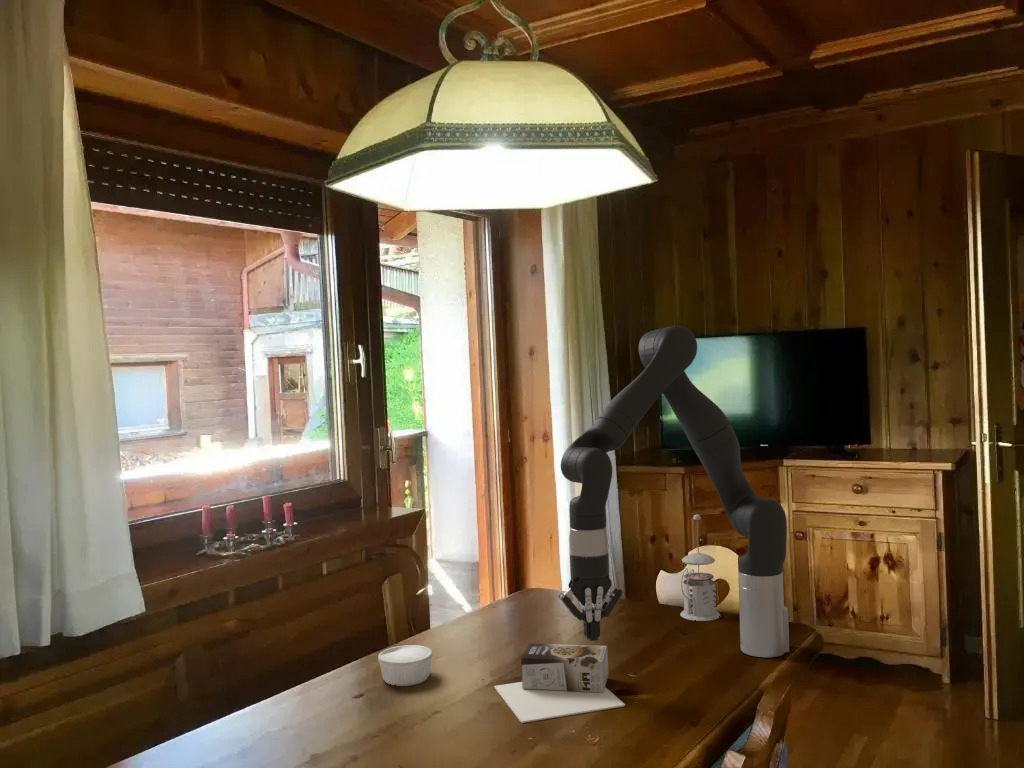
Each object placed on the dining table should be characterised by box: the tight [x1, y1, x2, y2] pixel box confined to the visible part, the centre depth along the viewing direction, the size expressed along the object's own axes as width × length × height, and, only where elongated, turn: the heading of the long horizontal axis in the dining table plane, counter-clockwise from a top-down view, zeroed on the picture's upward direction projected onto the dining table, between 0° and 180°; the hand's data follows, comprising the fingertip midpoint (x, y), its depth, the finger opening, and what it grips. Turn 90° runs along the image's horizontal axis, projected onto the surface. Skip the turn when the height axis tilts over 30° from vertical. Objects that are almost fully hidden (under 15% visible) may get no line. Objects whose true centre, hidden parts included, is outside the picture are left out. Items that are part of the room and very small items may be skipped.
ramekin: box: [377, 644, 433, 687], centre depth 176 cm, size 11×11×5 cm
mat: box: [493, 681, 626, 724], centre depth 164 cm, size 20×18×1 cm
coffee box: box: [520, 642, 609, 693], centre depth 169 cm, size 9×6×16 cm
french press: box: [680, 513, 721, 622], centre depth 211 cm, size 10×12×25 cm
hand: (592, 639), depth 165 cm, fingers closed
